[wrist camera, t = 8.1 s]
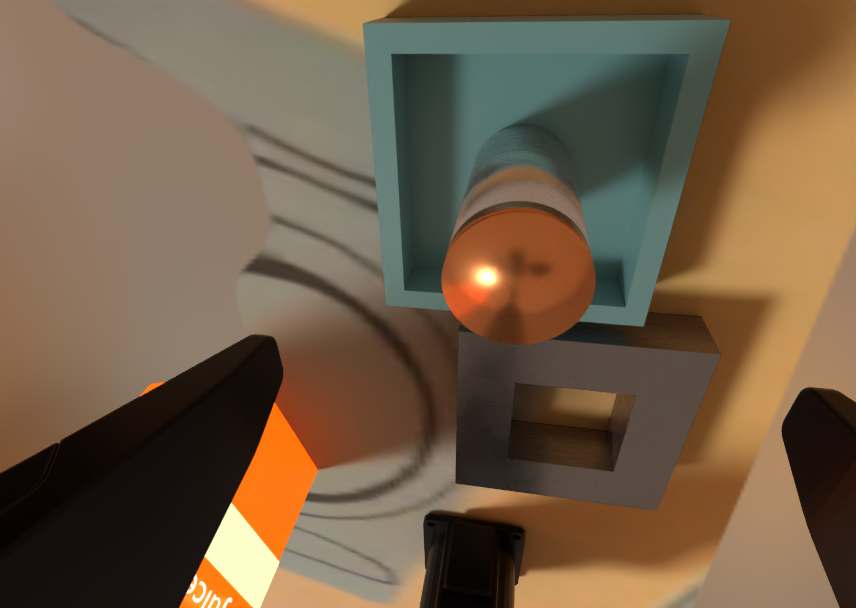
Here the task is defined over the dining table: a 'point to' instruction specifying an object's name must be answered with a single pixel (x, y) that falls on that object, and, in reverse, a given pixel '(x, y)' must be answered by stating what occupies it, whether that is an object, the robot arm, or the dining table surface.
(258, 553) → the orange juice
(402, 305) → the tray
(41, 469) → the robot arm
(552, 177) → the pin
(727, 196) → the dining table surface
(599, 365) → the grey flat square frame
